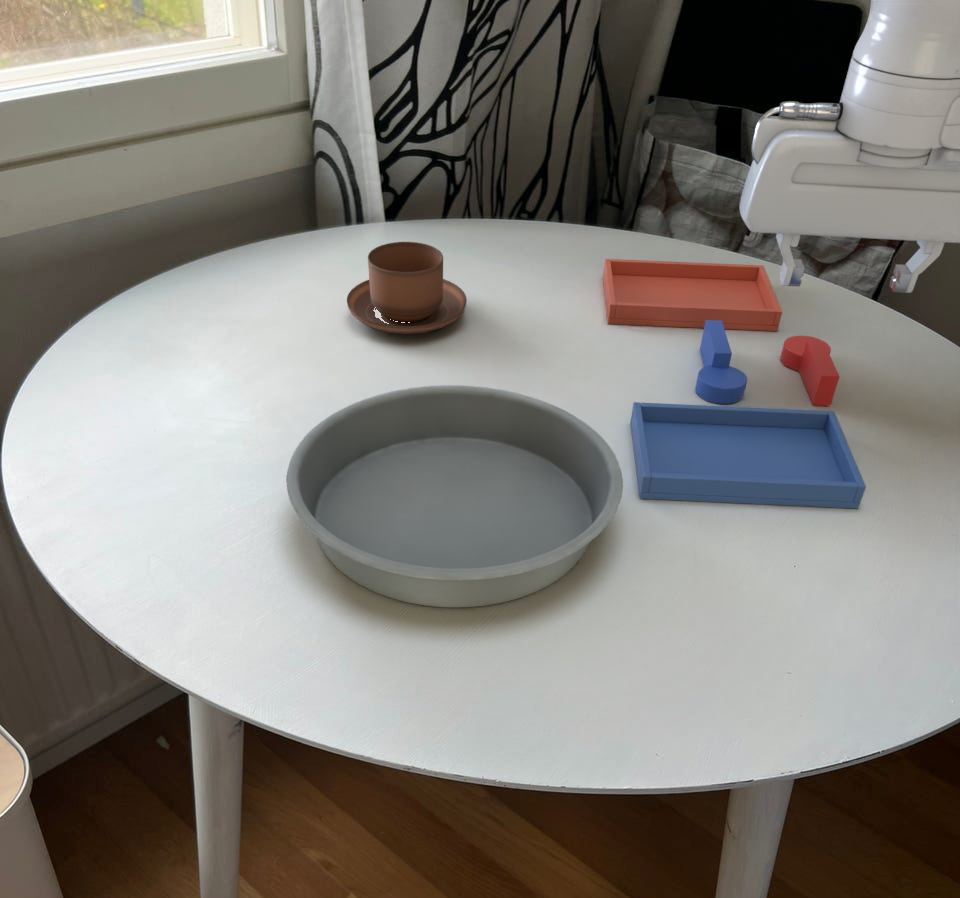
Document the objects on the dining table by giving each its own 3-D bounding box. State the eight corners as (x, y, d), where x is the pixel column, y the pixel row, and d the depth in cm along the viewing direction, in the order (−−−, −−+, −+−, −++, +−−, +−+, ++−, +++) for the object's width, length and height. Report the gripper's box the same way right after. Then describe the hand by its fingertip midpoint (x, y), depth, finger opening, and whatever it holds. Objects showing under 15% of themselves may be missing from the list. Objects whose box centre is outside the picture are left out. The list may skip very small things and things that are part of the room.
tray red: (759, 284, 104) (763, 265, 103) (777, 331, 96) (782, 311, 95) (602, 277, 104) (604, 258, 103) (607, 324, 96) (610, 304, 95)
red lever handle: (845, 407, 86) (855, 377, 84) (796, 404, 86) (805, 374, 84) (821, 351, 93) (829, 322, 91) (776, 349, 93) (783, 320, 91)
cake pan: (660, 603, 66) (671, 552, 63) (305, 647, 62) (297, 595, 59) (567, 418, 83) (572, 371, 80) (284, 443, 79) (277, 395, 76)
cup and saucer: (323, 320, 96) (317, 259, 91) (401, 281, 102) (398, 223, 98) (414, 357, 91) (413, 294, 86) (489, 313, 97) (491, 253, 93)
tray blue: (827, 432, 83) (834, 410, 81) (858, 508, 75) (866, 486, 73) (630, 423, 83) (633, 401, 82) (639, 498, 75) (643, 476, 74)
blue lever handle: (685, 347, 93) (690, 318, 91) (730, 349, 93) (736, 320, 91) (698, 403, 86) (704, 373, 84) (747, 405, 86) (754, 375, 84)
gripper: (769, 112, 69) (727, 296, 79) (1051, 127, 69) (974, 309, 78) (754, 87, 73) (717, 264, 83) (1019, 101, 73) (951, 277, 83)
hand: (844, 286), depth 81 cm, fingers open, 8 cm apart
